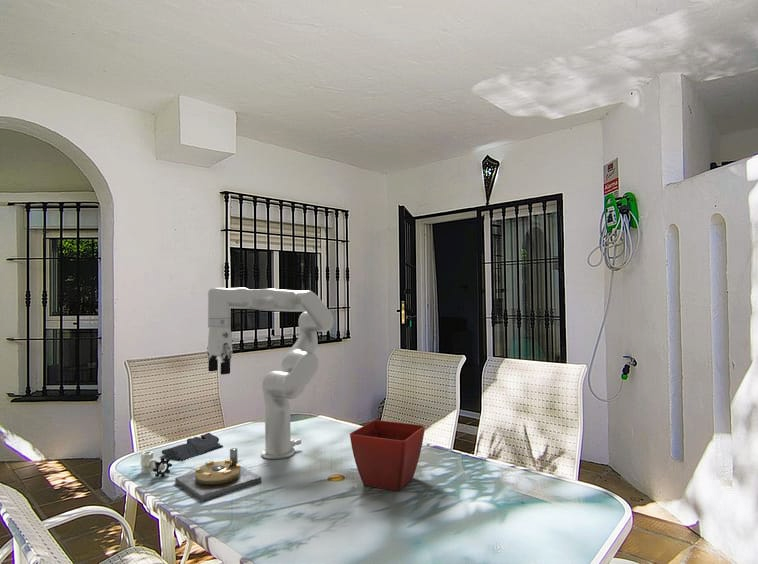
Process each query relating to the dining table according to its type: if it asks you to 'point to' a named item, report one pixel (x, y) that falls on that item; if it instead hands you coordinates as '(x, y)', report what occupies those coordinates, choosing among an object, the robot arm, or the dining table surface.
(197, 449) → the dark slate chunk
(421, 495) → the dining table surface
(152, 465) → the valve
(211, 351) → the robot arm
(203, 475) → the brass crank wheel
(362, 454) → the plant pot
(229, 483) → the housing
